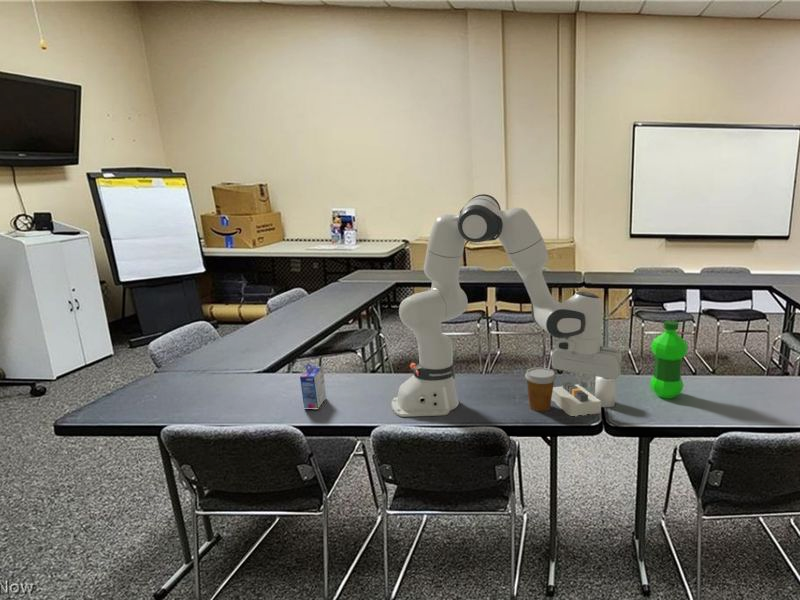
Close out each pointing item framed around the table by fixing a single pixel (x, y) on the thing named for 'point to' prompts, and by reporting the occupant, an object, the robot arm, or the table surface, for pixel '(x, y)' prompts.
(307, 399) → the ink cartridge box
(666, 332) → the plastic bottle
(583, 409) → the power strip
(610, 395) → the white hollow cylinder
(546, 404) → the disposable coffee cup
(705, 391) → the table surface
